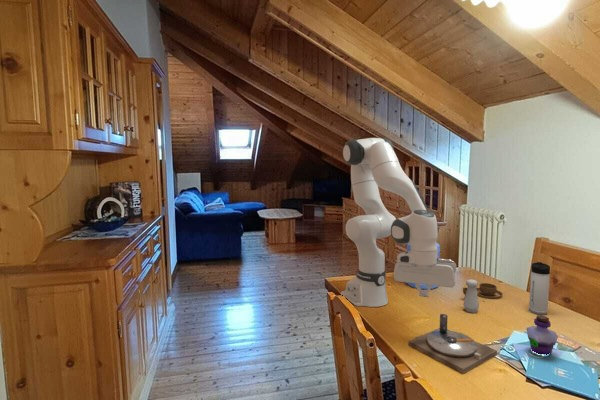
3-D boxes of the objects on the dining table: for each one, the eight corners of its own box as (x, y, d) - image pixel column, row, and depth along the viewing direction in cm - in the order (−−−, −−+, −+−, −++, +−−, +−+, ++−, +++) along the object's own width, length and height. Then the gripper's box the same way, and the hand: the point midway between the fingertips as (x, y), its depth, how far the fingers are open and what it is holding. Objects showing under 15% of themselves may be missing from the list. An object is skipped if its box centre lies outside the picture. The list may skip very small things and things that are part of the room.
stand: (408, 345, 120) (408, 337, 120) (441, 330, 130) (441, 323, 130) (463, 373, 104) (463, 365, 103) (496, 355, 113) (497, 347, 113)
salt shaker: (480, 314, 143) (481, 283, 142) (465, 313, 145) (466, 282, 143) (476, 308, 149) (477, 278, 148) (461, 307, 150) (462, 277, 149)
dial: (439, 358, 109) (439, 335, 108) (420, 334, 124) (420, 314, 123) (486, 356, 110) (487, 333, 109) (462, 333, 124) (462, 312, 124)
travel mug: (545, 310, 147) (548, 262, 144) (548, 316, 141) (552, 267, 138) (527, 307, 149) (530, 261, 147) (530, 313, 143) (532, 265, 141)
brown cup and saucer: (511, 303, 155) (511, 290, 155) (464, 303, 157) (464, 290, 156) (492, 289, 173) (492, 277, 172) (449, 289, 174) (450, 277, 173)
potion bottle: (521, 352, 115) (523, 316, 113) (528, 342, 121) (530, 308, 119) (553, 363, 108) (556, 325, 107) (559, 352, 114) (561, 316, 113)
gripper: (457, 257, 121) (456, 297, 122) (396, 252, 131) (396, 289, 132) (455, 262, 116) (455, 303, 117) (392, 256, 125) (392, 295, 126)
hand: (423, 296), depth 124 cm, fingers closed
